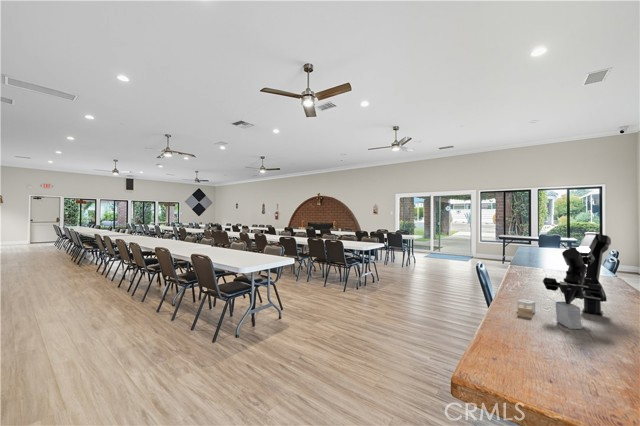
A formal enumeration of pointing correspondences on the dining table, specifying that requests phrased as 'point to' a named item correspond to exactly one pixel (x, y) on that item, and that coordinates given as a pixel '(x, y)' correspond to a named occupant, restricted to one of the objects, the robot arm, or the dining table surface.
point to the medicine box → (568, 315)
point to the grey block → (527, 304)
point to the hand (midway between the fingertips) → (567, 303)
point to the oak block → (525, 311)
